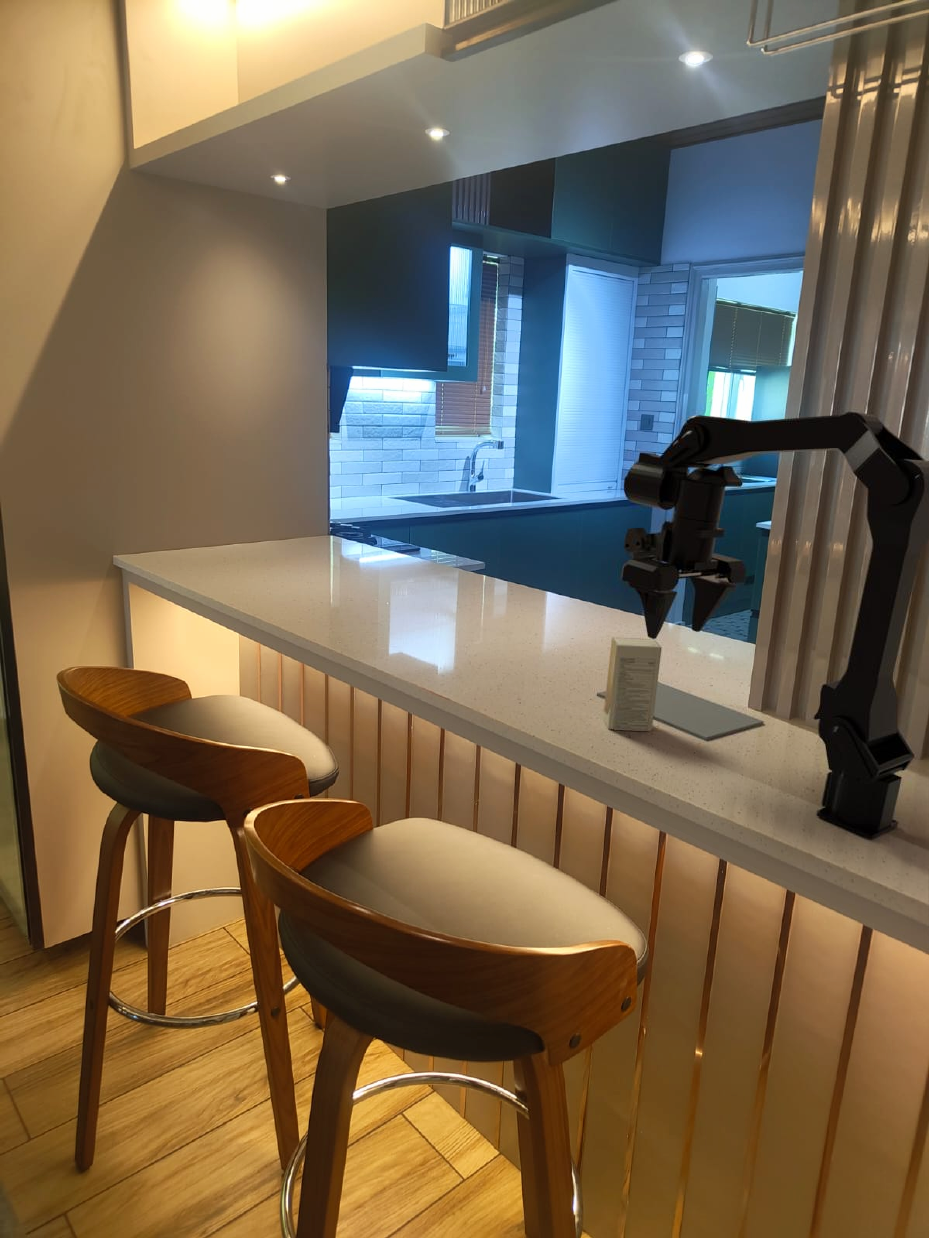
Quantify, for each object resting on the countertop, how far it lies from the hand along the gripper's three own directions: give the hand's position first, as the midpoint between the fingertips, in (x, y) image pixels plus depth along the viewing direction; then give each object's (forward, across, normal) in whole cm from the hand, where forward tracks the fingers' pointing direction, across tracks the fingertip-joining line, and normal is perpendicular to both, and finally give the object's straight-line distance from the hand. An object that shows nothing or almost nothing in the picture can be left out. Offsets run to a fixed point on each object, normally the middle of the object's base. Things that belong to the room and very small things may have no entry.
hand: (674, 634), depth 115 cm
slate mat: (+15, -12, -6) cm, 20 cm away
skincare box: (+15, +1, -4) cm, 16 cm away
